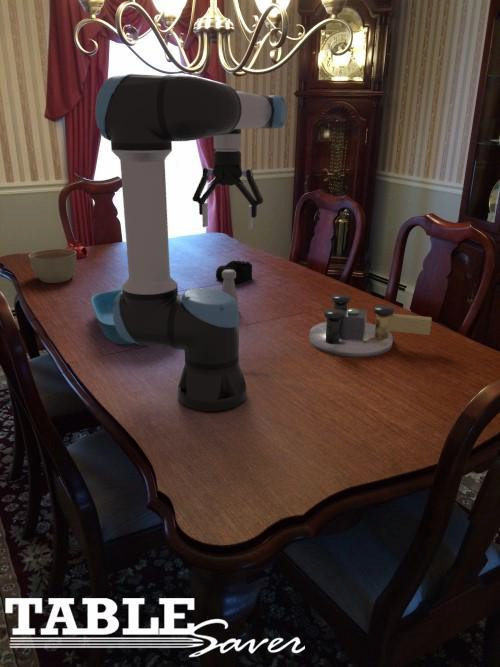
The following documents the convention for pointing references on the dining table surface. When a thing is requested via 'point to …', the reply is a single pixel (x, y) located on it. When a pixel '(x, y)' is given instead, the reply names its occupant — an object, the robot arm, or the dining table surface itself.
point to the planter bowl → (53, 264)
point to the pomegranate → (78, 250)
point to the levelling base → (351, 343)
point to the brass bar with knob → (399, 322)
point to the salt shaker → (229, 283)
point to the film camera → (239, 267)
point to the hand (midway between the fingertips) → (227, 227)
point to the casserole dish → (107, 314)
